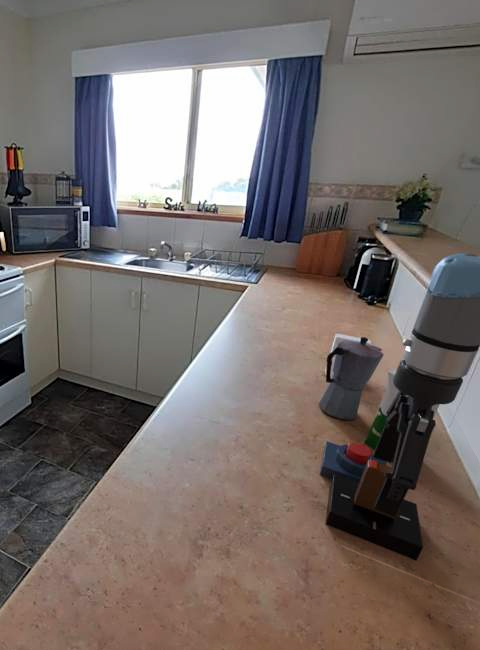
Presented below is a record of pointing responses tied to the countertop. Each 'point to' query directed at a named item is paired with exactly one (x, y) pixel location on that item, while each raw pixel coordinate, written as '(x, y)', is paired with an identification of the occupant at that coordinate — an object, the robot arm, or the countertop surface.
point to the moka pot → (349, 377)
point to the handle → (372, 486)
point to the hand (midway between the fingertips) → (382, 483)
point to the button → (358, 453)
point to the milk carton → (381, 413)
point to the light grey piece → (337, 340)
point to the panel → (374, 520)
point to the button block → (342, 463)
